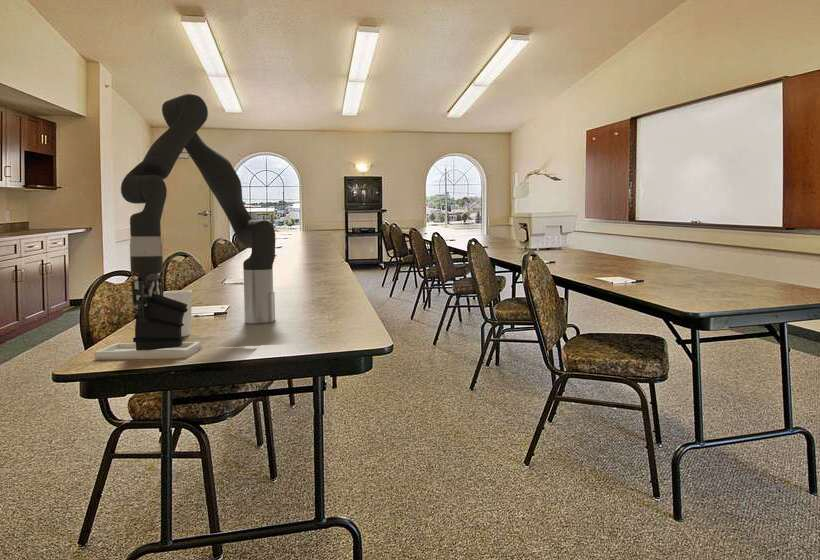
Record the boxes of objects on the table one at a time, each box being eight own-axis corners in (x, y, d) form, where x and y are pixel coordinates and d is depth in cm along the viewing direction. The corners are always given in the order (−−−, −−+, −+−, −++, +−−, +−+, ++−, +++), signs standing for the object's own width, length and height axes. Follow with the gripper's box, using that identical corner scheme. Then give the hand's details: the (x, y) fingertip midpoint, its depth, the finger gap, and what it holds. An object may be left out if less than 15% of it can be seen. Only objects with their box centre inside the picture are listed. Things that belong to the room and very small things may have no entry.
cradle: (201, 349, 154) (200, 341, 153) (186, 358, 142) (186, 350, 141) (116, 350, 152) (116, 343, 152) (94, 359, 140) (94, 351, 140)
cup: (158, 340, 167) (156, 292, 166) (178, 336, 174) (176, 289, 174) (180, 342, 164) (178, 292, 163) (200, 337, 172) (198, 290, 171)
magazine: (126, 345, 148) (146, 290, 149) (176, 360, 150) (196, 306, 150) (121, 347, 144) (141, 291, 145) (172, 363, 146) (192, 308, 147)
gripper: (150, 255, 138) (153, 323, 139) (171, 253, 153) (173, 316, 154) (118, 255, 138) (121, 324, 139) (142, 254, 152) (145, 316, 153)
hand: (149, 319), depth 146 cm, fingers open, 6 cm apart
